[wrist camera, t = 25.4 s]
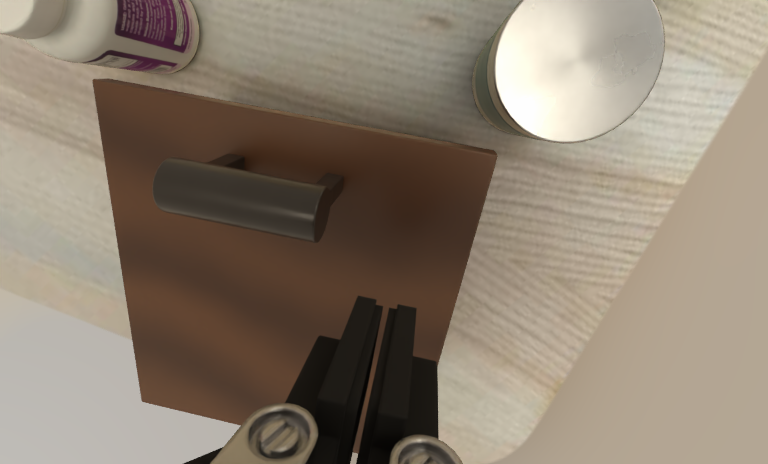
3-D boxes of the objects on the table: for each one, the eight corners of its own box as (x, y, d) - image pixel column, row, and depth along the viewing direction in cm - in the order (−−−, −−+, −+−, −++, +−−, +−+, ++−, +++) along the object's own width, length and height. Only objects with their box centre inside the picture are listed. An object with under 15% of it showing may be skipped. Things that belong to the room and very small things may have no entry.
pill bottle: (143, -44, 22) (-60, -156, 13) (218, 18, 23) (73, -48, 13) (106, 37, 24) (-98, -11, 15) (177, 94, 24) (22, 81, 15)
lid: (107, 78, 15) (-34, 83, 11) (495, 150, 14) (520, 189, 10) (151, 391, 22) (77, 473, 18) (410, 452, 22) (401, 556, 17)
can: (486, 12, 21) (518, -48, 13) (597, 30, 21) (695, -20, 13) (460, 124, 23) (475, 128, 15) (562, 143, 22) (629, 157, 15)
